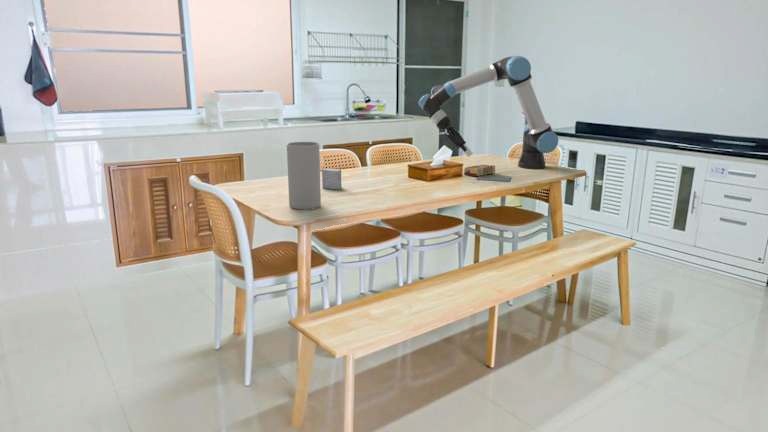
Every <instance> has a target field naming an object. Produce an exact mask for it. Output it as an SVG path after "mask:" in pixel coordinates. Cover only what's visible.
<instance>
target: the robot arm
mask: <svg viewBox="0 0 768 432" xmlns="http://www.w3.org/2000/svg"><path fill="white" fill-rule="evenodd" d="M531 70H532V65H531V62H530V61H529V59H527V58H526V57H524V56H522V55H521V56H520V55H514V56H506V57H504V58H502V59H500V60H498V61H495V62H494V63H490V64H489V66H487V67H485V68H482V69H479V70H477V71H473V72H471V73H468V74H466V75H464V76H460V77H457V78H454V79H452V80H450V81H447V82H444V83H442V84H441V83H440V84H438V85H434V86H433V87H432V88H431V91H430V94H429V93H427V94H424V95H423V96H421V98H420V99H419V100H418V106H419V107H420V108H421V110H422V111H423V112H424V113H425V114H426V116H427V117H429V119H430V120H431V122H432V123H433V124H434V125H436V127H437V129H438V130H439V131H444V135H445V136H446V137H447V138H448V139H449V140H450V141H451V142H452V143H453V144H454V145H455V146H456V147H457V149H461V150H462V152H463V153H464V154H465V156H467V157H468V158H470V157H471V156H472V155H473V154H474V153H473V151H471V149H470V148H469V147H468V146H467V145H466V143H467V141H465V140H464V138H463V137H462V135H461V133H459V131H458V129H457V128H456V127H454V126H452V125H451V123H452V120H451V118H450V117H449V116H448V115H447V114H446V112H445V111H444V110H443V109H442V108H441V107H442V106H444V105H445V104H446V103H447V102H449V101H450V100H451V99H452V98H453V97H455V95H457V94H460V93H463V92H465V91H468V90H471V89H474V88H476V87H478V86H479V87H480V86H482V85H485V84H488V83H491V82H494V83H495V82H499V81H502V80H507V82H508V84H509V87H511V88H513V89H514V90H515V94H516V96H517V98H518V101H519V104H520V106H521V108H522V111H523V114H524V116H525V119H526V122H527V124H528V126H525V127H524V129H523V138H522V140H523V141H522V150H521V155H520V158H519V160H518V163H517V166H518V167H519V168H524V169H532V170H533V169H534V170H538V169H544V168H546V159H545V156H544V154H549V153H551V152H553V151H555V150H556V148H557V147H558V144H559V136H558V135H557V134H556V133H555V131H553V130H552V129H553V128H552V127H551V124H550V123H548V122H546V121H547V120H545V117H544V114H543V111H542V109H541V106H540V103H539V101H538V99H537V98H538V97H537V95H536V93H535V90H534V87H533V85H532V82H531V81H532V74H531Z"/></svg>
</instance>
